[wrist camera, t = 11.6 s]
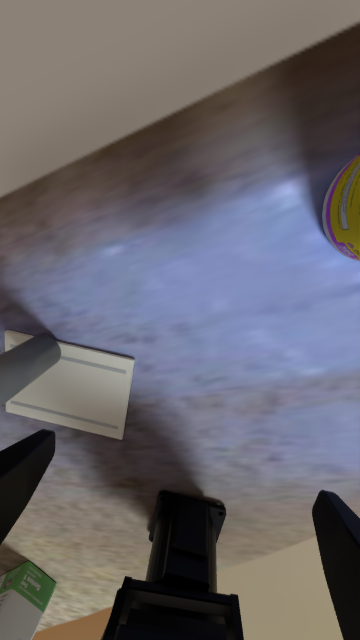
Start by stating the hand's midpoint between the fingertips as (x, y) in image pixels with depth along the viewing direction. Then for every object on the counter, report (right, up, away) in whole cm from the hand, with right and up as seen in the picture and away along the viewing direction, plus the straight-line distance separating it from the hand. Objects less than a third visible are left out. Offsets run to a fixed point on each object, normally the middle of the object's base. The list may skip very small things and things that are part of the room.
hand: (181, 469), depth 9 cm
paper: (-10, -1, +14) cm, 17 cm away
